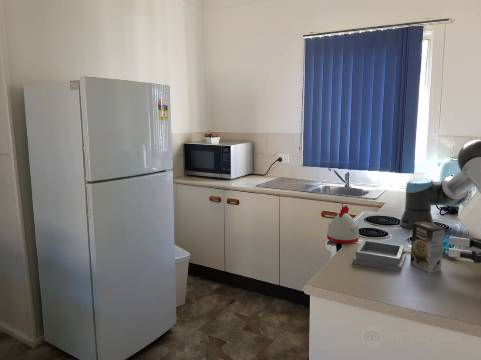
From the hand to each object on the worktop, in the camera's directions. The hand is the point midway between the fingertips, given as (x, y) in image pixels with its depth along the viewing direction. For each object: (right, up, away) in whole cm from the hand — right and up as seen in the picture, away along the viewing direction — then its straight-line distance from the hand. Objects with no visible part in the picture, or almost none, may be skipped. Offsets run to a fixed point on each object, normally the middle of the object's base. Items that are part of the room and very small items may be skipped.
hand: (448, 245), depth 138 cm
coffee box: (-6, -9, +5) cm, 12 cm away
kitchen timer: (-28, -3, +38) cm, 47 cm away
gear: (+9, -6, +19) cm, 22 cm away
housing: (-20, -7, +13) cm, 25 cm away
